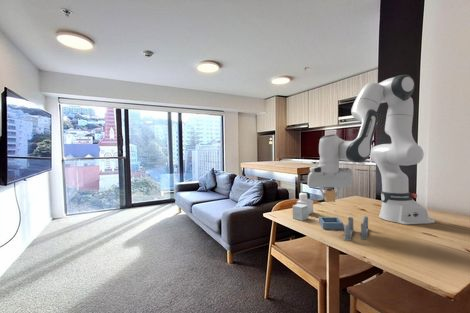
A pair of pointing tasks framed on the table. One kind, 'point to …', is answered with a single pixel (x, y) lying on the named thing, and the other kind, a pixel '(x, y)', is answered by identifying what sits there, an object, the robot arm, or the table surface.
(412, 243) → the table surface
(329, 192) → the block with round knob
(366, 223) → the clip
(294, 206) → the product box
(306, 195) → the medicine bottle
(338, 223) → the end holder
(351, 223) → the clip
